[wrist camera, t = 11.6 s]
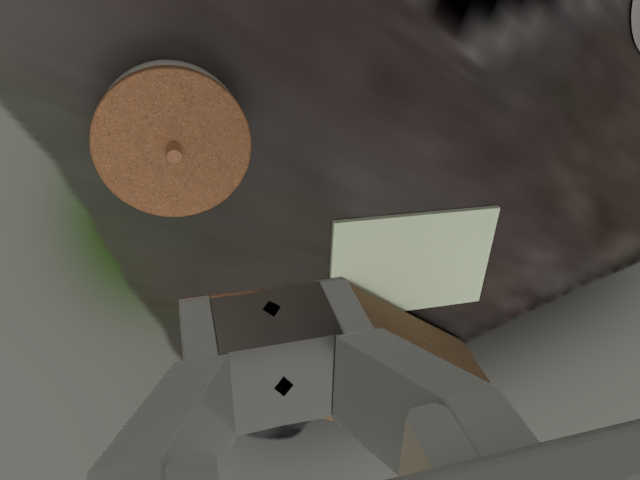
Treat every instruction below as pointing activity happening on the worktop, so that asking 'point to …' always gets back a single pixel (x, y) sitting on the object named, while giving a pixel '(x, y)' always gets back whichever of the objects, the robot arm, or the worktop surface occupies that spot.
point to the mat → (416, 255)
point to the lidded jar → (170, 139)
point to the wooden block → (417, 333)
